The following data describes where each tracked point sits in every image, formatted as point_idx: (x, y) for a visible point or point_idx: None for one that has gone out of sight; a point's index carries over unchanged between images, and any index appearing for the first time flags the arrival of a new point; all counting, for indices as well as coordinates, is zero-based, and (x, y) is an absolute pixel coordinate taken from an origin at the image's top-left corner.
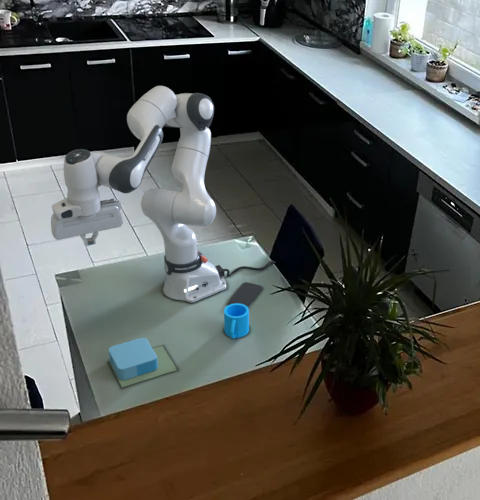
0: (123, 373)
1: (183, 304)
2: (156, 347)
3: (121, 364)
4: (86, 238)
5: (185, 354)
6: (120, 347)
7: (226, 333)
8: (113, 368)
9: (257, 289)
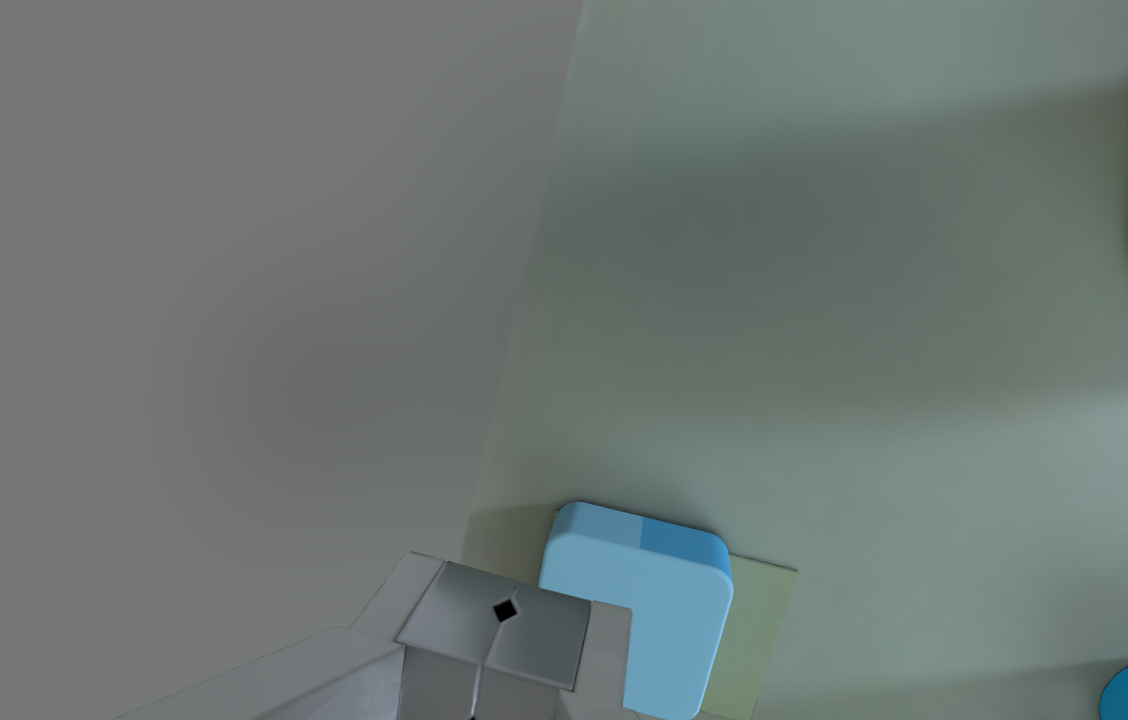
0: None
1: None
2: (769, 565)
3: None
4: (413, 654)
5: (842, 674)
6: (598, 568)
7: (1105, 702)
8: None
9: None
